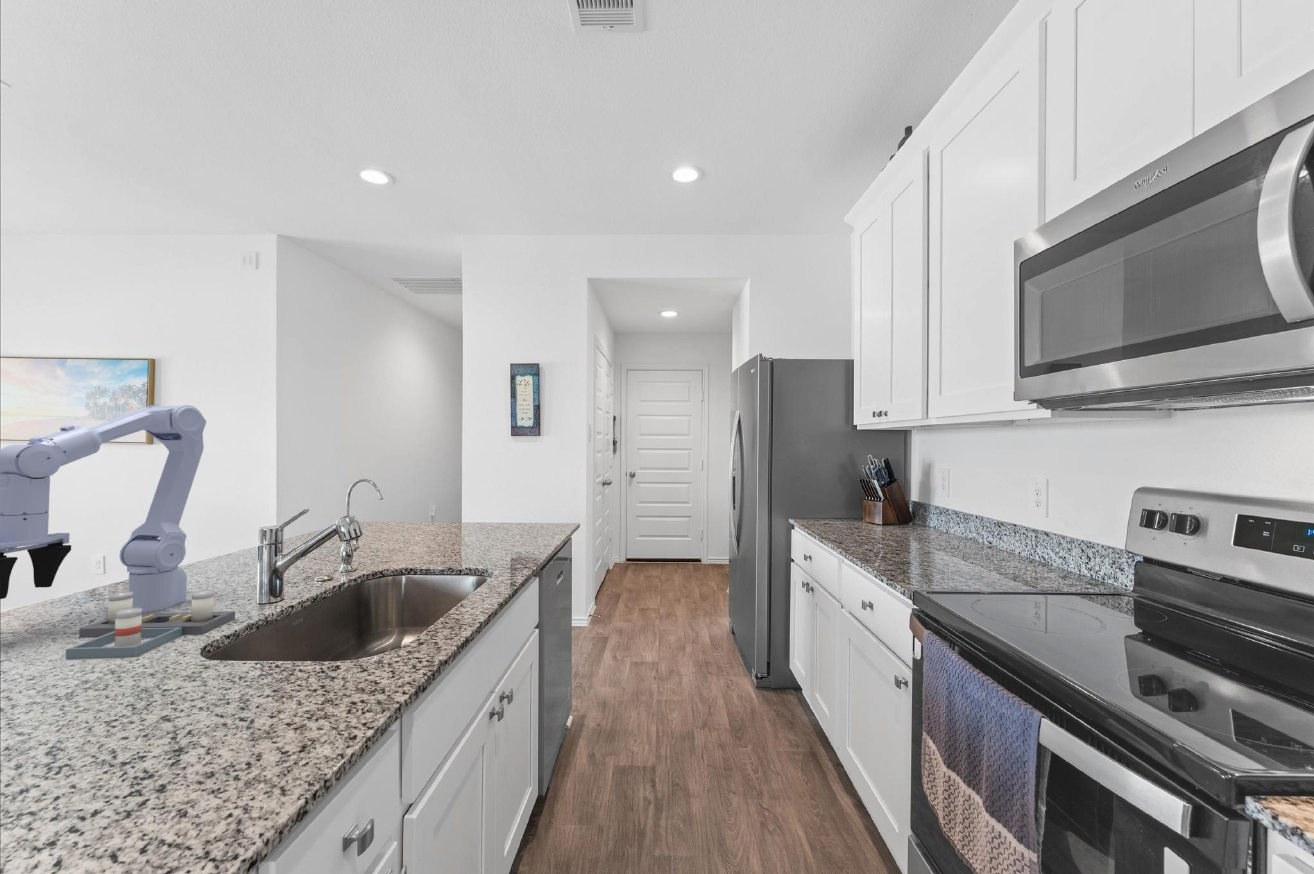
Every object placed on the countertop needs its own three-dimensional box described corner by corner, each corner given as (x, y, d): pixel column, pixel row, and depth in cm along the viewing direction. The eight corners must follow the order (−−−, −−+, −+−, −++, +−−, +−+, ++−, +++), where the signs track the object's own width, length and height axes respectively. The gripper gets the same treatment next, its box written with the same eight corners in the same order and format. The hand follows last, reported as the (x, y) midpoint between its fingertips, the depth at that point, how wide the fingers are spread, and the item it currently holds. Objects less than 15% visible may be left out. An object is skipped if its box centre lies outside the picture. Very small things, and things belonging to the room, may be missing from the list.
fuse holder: (122, 626, 105) (123, 610, 105) (234, 623, 107) (235, 608, 107) (78, 643, 96) (79, 625, 96) (201, 639, 98) (202, 622, 98)
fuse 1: (118, 626, 102) (119, 591, 102) (136, 625, 103) (137, 590, 103) (102, 631, 99) (103, 595, 99) (121, 631, 99) (122, 595, 100)
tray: (120, 642, 96) (120, 628, 96) (181, 641, 97) (182, 627, 97) (65, 665, 86) (66, 649, 86) (134, 663, 87) (135, 647, 88)
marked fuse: (128, 645, 94) (129, 607, 94) (146, 645, 93) (147, 607, 94) (108, 652, 90) (109, 612, 91) (126, 652, 90) (127, 613, 90)
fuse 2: (198, 624, 104) (199, 589, 104) (217, 623, 104) (218, 589, 104) (186, 629, 101) (187, 594, 101) (205, 629, 101) (206, 594, 101)
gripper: (40, 509, 101) (37, 582, 101) (-52, 519, 87) (-56, 605, 86) (82, 509, 102) (80, 582, 101) (-2, 518, 87) (-5, 604, 87)
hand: (21, 592), depth 94 cm, fingers open, 7 cm apart
